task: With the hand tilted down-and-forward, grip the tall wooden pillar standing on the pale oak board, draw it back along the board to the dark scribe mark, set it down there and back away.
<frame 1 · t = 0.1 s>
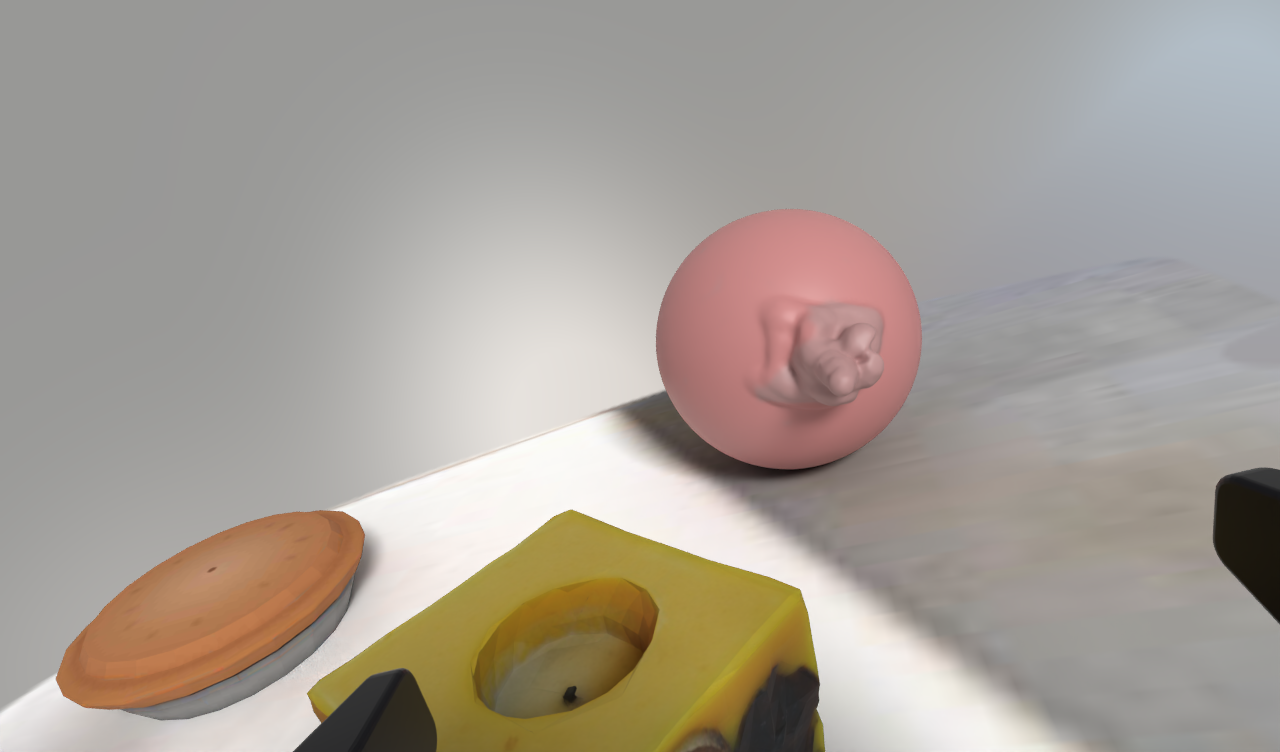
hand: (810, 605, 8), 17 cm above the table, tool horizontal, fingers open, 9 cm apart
pie: (252, 642, 39), on the table
balloon: (811, 471, 42), on the table
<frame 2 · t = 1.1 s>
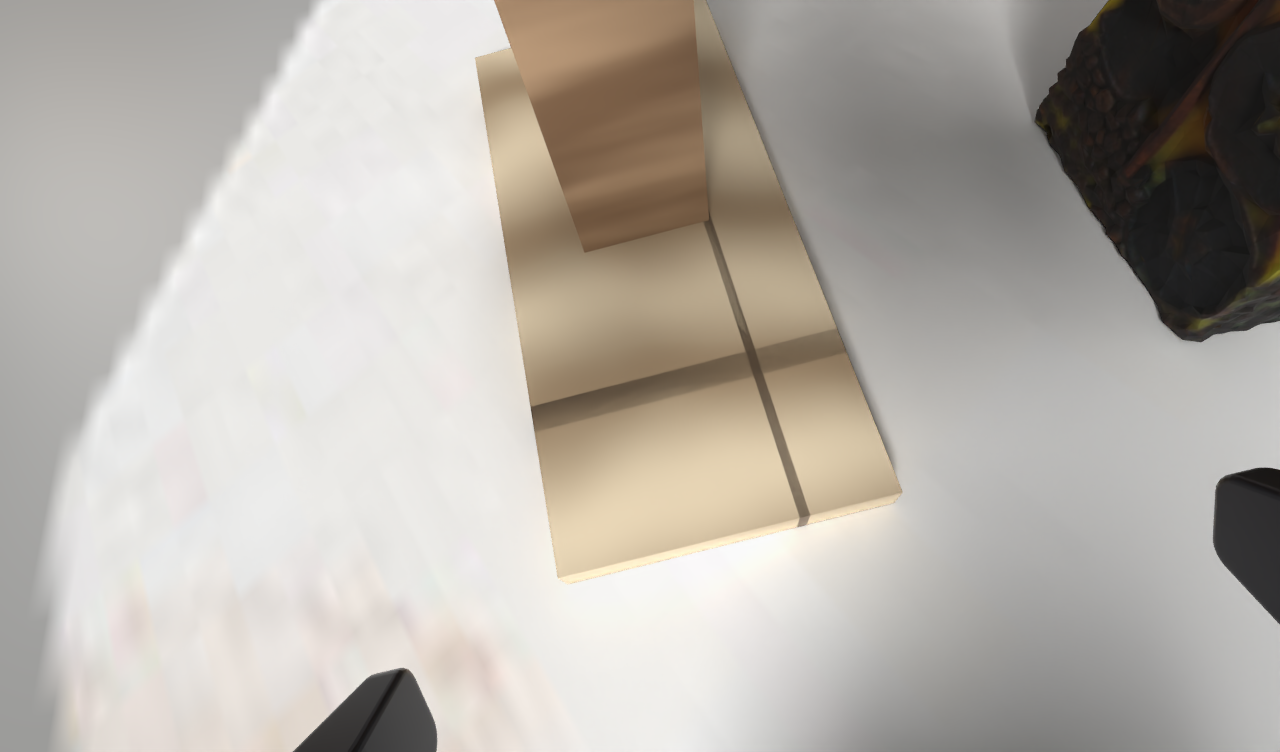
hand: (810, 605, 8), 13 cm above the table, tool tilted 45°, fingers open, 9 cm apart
tall wooden pillar: (633, 188, 25), point 1 cm above the table, touching board
board: (649, 250, 25), on the table
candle: (1237, 193, 23), on the table
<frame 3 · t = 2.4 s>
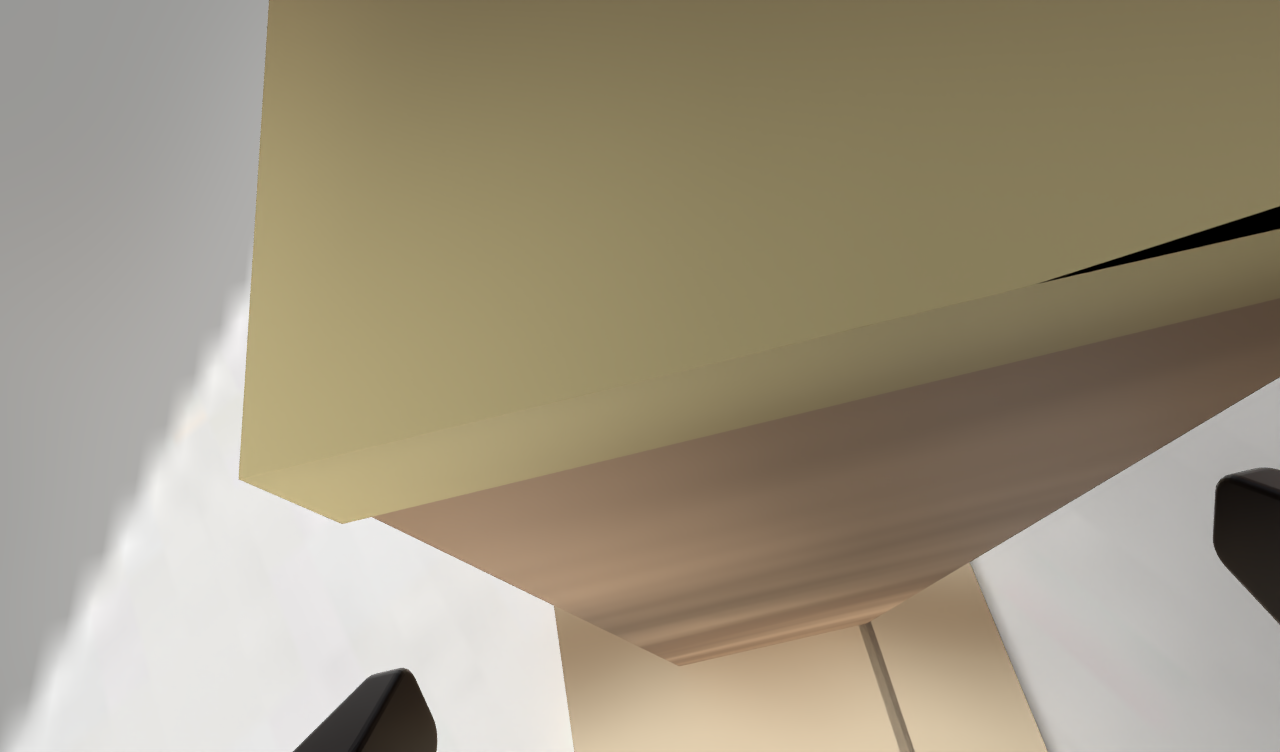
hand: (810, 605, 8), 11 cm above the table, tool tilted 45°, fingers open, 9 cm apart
tall wooden pillar: (746, 550, 17), point 1 cm above the table, touching board
board: (767, 636, 17), on the table
when the fingers open (8 cm above the table, at t = 6.6 s): tall wooden pillar stays where it is, resting on board.
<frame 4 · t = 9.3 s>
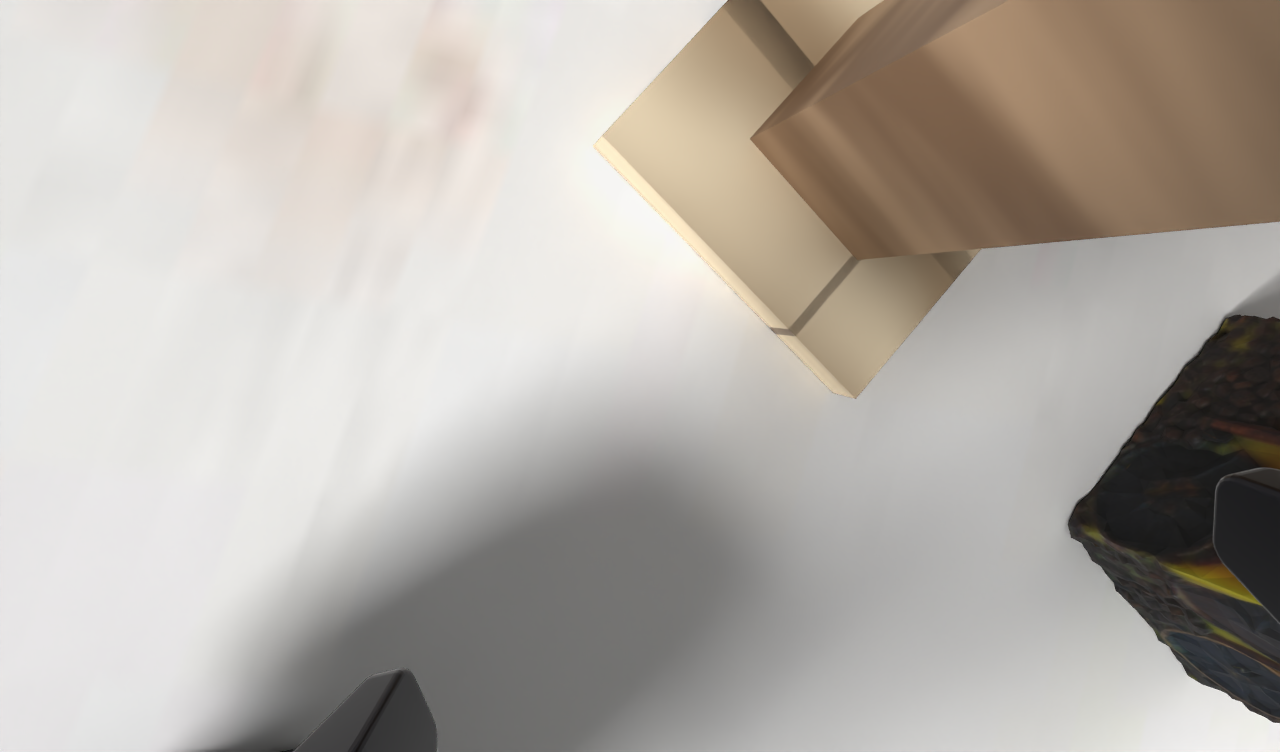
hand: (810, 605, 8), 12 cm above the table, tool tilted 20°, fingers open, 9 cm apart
tall wooden pillar: (857, 141, 19), point 1 cm above the table, touching board
board: (961, 6, 20), on the table
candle: (1201, 501, 26), on the table
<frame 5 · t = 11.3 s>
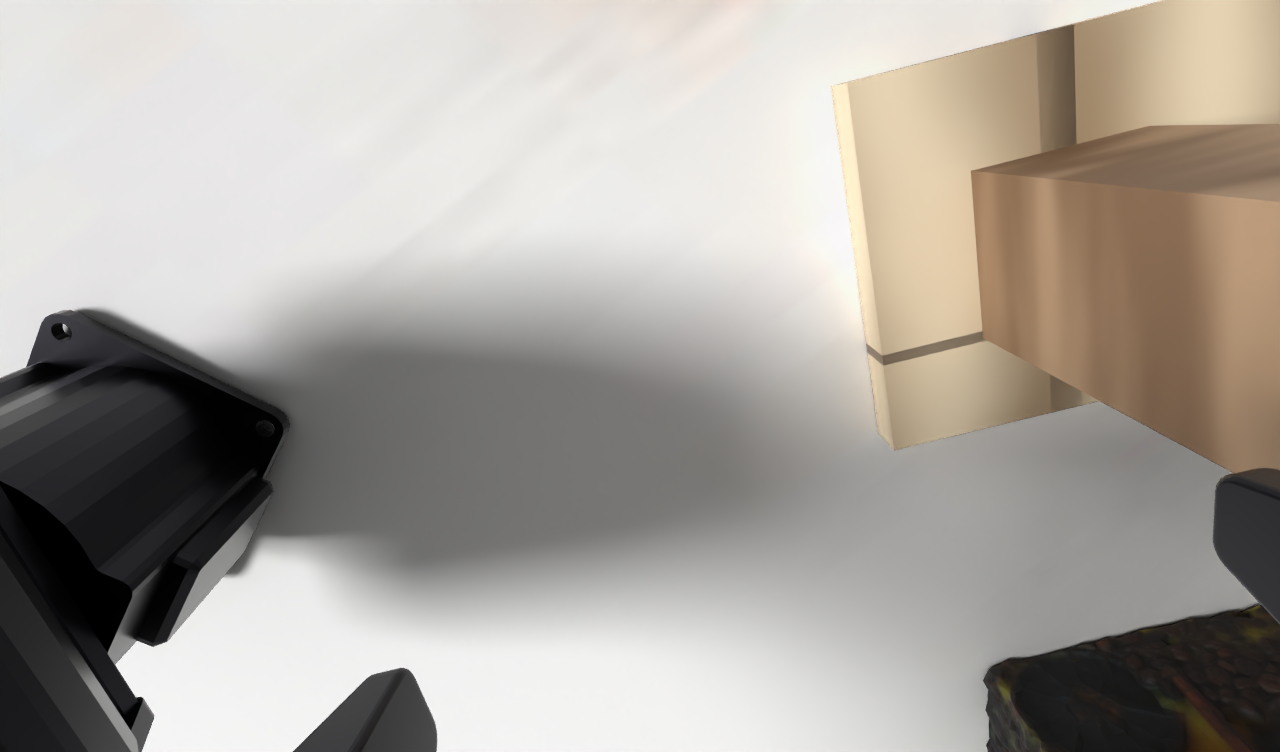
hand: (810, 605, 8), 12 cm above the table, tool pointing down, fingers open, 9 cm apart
tall wooden pillar: (1062, 236, 18), point 1 cm above the table, touching board
board: (1250, 176, 19), on the table
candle: (1113, 730, 26), on the table
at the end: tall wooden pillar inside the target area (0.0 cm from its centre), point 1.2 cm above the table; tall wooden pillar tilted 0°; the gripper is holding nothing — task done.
